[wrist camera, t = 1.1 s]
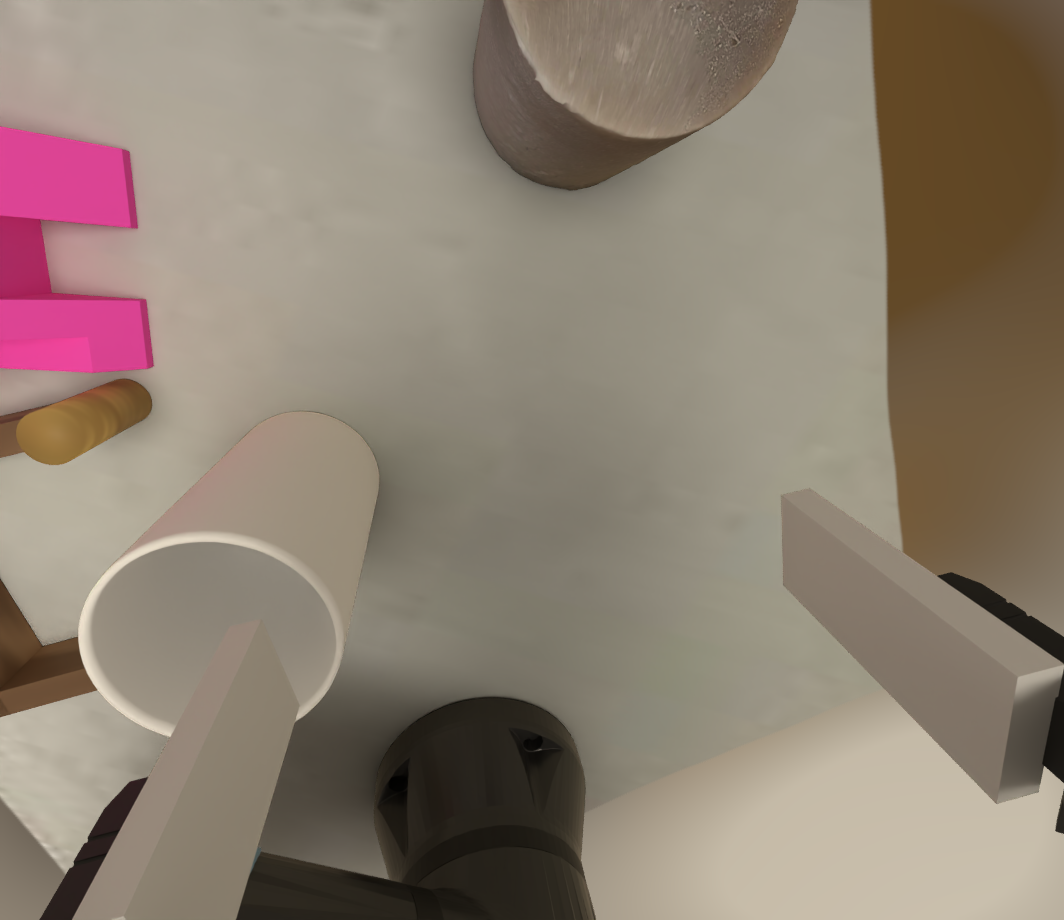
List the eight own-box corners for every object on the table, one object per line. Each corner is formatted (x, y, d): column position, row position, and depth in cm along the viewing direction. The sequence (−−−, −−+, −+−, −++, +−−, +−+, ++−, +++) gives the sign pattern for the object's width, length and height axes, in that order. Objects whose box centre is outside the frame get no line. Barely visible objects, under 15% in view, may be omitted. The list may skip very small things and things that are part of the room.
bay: (252, 619, 37) (214, 696, 30) (32, 679, 36) (-56, 773, 29) (140, 374, 31) (63, 404, 25) (-124, 436, 30) (-277, 485, 24)
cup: (208, 506, 34) (38, 699, 19) (269, 384, 33) (133, 492, 18) (341, 562, 37) (281, 771, 22) (403, 452, 35) (385, 596, 20)
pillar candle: (690, 68, 31) (903, -96, 17) (581, 229, 33) (692, 202, 19) (542, -77, 28) (651, -423, 14) (430, 108, 30) (427, -35, 16)
